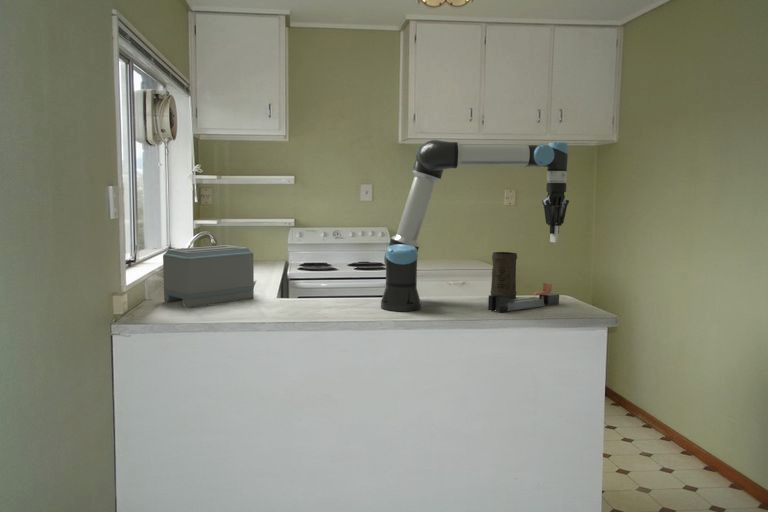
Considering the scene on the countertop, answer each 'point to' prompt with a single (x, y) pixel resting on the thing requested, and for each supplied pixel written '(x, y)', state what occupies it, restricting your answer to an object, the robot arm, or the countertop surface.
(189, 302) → the toaster
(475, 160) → the robot arm
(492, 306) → the tongs base
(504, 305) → the tong arm
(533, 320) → the countertop surface
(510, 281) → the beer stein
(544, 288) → the lock tab
